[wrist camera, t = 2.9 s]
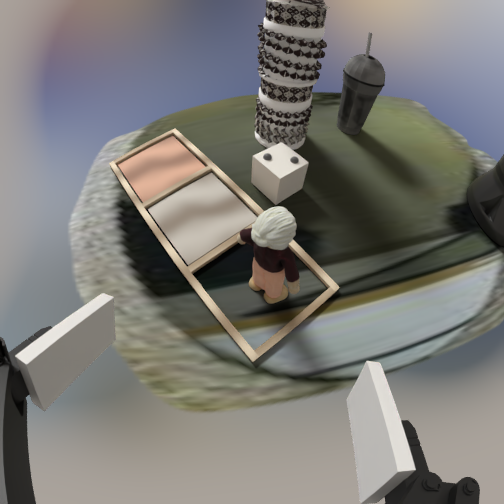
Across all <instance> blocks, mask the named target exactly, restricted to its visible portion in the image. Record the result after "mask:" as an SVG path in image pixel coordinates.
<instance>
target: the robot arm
mask: <svg viewBox="0 0 504 504" xmlns="http://www.w3.org/2000/svg"><path fill="white" fill-rule="evenodd" d="M467 199H468V203H469V206H470V209H471V211H472V213H473V215H474V217H475V219H476V220H477V222H478V223H479V225H480V226H481V228H482V229H483V230H484V231H485V233H486V234H487V235H488V236H489V237H490V238H491V239H492V240H493V241H494V242H496V243H497V244H499V245H500V246H503V247H504V155H503V156H502V158H501V159H500V160H499V162H498V163H497V165H496V166H495V167H494V168H493V169H491V170H489V171H488V172H486V173H484V174H483V175H481V176H480V177H478V178H476V179H475V180H474V181H473V182H472V183H471V184H470V186H469V187H468V189H467ZM115 340H116V336H115V317H114V297H112V296H109V295H107V294H104V293H102V294H101V295H99V296H98V297H96V298H95V299H93V300H92V301H90V302H89V303H87V304H86V305H84V306H83V307H82V308H80V309H79V310H77V311H76V312H75V313H73V314H71V315H70V316H69V317H67V318H66V319H64V320H63V321H62V322H60V323H59V324H57V325H56V326H55V327H51V326H49V327H46V328H43V329H41V330H39V331H38V332H36V333H35V334H34V336H31V337H30V338H28V340H25V341H24V342H22V343H21V344H20V345H18V346H17V347H16V348H14V349H13V350H12V351H10V352H9V353H8V351H7V348H6V344H5V341H4V340H3V338H1V337H0V504H36V502H35V497H34V491H33V486H32V479H31V472H30V464H29V453H28V438H27V400H26V397H27V396H28V395H30V397H31V399H32V402H33V403H34V404H35V405H37V406H38V407H39V408H41V409H42V410H43V411H46V409H47V408H48V407H49V406H50V405H51V404H52V403H53V402H54V401H55V400H56V399H57V398H58V397H59V396H60V395H61V394H62V393H63V392H64V391H65V390H66V389H67V388H68V387H69V386H70V385H71V383H73V381H75V380H76V378H77V377H78V376H79V375H80V374H81V373H82V372H83V371H84V370H85V369H86V368H87V367H88V366H89V365H90V364H91V363H92V362H93V361H94V360H95V359H96V358H97V357H98V356H99V355H100V354H101V353H102V352H103V351H104V350H105V349H106V348H107V347H109V346H110V345H111V344H112V343H113V342H114V341H115ZM346 401H347V406H348V412H349V419H350V424H351V432H352V438H353V446H354V453H355V460H356V468H357V478H358V486H359V497H360V504H369V503H377V502H379V501H380V500H381V499H382V498H384V497H385V502H386V503H385V504H479V494H480V489H479V485H478V483H477V481H476V480H475V479H473V478H471V477H465V478H463V479H461V480H460V481H459V482H458V483H456V484H454V483H446V482H442V480H441V479H440V477H439V476H438V475H436V474H435V473H432V472H429V470H428V466H427V463H426V460H425V457H424V454H423V451H422V448H421V446H420V442H419V439H418V436H417V433H416V430H415V428H414V427H413V426H412V424H411V423H410V422H409V421H408V420H405V421H403V420H401V419H400V417H399V414H398V411H397V408H396V405H395V402H394V399H393V396H392V394H391V391H390V388H389V385H388V383H387V380H386V377H385V375H384V372H383V369H382V367H381V364H380V363H378V362H371V361H366V363H365V365H364V367H363V369H362V371H361V373H360V375H359V377H358V379H357V381H356V383H355V385H354V387H353V388H352V390H351V392H350V394H349V396H348V397H347V399H346Z"/></svg>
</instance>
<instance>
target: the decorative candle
mask: <svg viewBox="0 0 504 504" xmlns="http://www.w3.org/2000/svg"><path fill="white" fill-rule="evenodd" d="M329 8H330V7H328V6H326V5H325V3H324V1H323V0H267V2H266V17H265V18H264V23H261V25H258V27H259V28H260V32H259V33H258V34H257V35H258V36H259V40H260V41H261V43H260V45H259V46H258V49H259V50H260V51H259V53H260V54H258V56H257V57H258V59H259V60H258V62H259V63H260V66H259V67H258V70H259V75H260V77H261V87H260V88H259V96H258V97H259V98H257V99H256V102H257V107H256V110H257V112H256V113H257V114H256V116H255V120H256V123H255V137H256V139H257V141H258V142H259V143H260V144H261V145H263V146H265V147H267V148H270V147H272V146H274V145H276V144H279V143H281V142H282V143H284V144H285V145H286V146H288V147H289V148H290V149H292V150H295V149H298V148H299V147H301V146H302V145H303V144H304V141H305V137H306V135H305V134H304V133H307V129H308V128H307V127H306V126H308V125H309V123H308V122H307V121H309V117H310V116H311V114H310V113H311V109H312V105H311V100H312V93H311V92H312V88H313V85H314V84H316V82H317V79H318V78H319V75H320V74H319V73H318V72H317V71H316V70H319V69H321V64H320V63H319V62H318V61H317V59H318V58H323V57H324V56H325V53H324V52H323V51H322V50H320V49H322V48H325V47H327V44H326V42H325V41H323V39H322V40H321V37H323V35H324V31H325V26H324V22H325V18H326V11H327V9H329ZM263 25H264V27H263ZM263 34H264V35H265V36H264V35H263ZM263 47H264V49H263ZM263 56H264V58H262V57H263Z"/></svg>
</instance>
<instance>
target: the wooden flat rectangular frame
mask: <svg viewBox="0 0 504 504" xmlns="http://www.w3.org/2000/svg"><path fill="white" fill-rule="evenodd" d="M173 135H174V136H175V137H176V138H177V139H178V140H179V141H181V142H182V143H183V144H184V145H185V146H186V147H187V148H188V149H189V150H190V151H191V152H192V153H193V154H194V155H195V156H196V157H198V158H199V159H200V160H201V161H202V162H203V163H204V164H205V165H206V166H207V167H205V166H204V165H203V164H202V163H201V162H200V161H199V160H198V159H197V158H196V157H195V156H194V155H193V154H192V153H191V152H190V151H188V150H187V149H186V148H185V147H184V146H183V145H182V144H181V143H180V142H179V141H178V140H177V139H176V138H175V137H174V136H173ZM145 149H146V150H145ZM143 150H144V151H143ZM141 151H142V152H141ZM132 156H133V157H132ZM123 161H124V162H123ZM109 164H110V166H111V168H112V170H113V171H114V173H115V174H116V176H117V178H118V179H119V181H120V182H121V184H122V186H123V187H124V189H125V190H126V192H127V194H128V195H129V197H130V198H131V200H132V201H133V203H134V204H135V206H136V207H137V209H138V210H139V212H140V214H141V215H142V217H143V218H144V220H145V221H146V222H147V224H148V225H149V227H150V228H151V230H152V231H153V233H154V234H155V236H156V237H157V239H158V240H159V241H160V243H161V244H162V246H163V247H164V249H165V250H166V251H167V253H168V254H169V256H170V257H171V258H172V260H173V261H174V263H175V264H176V265H177V267H178V268H179V270H180V271H181V272H182V274H183V275H184V276H185V278H186V279H187V280H188V282H189V283H190V284H191V286H192V287H193V288H194V290H195V291H196V292H197V294H198V295H199V296H200V298H201V299H202V300H203V302H204V303H205V304H206V306H207V307H208V308H209V309H210V311H211V312H212V313H213V315H214V316H215V317H216V318H217V320H218V321H219V322H220V323H221V325H222V326H223V327H224V328H225V330H226V331H227V332H228V333H229V335H230V336H231V337H232V338H233V339H234V341H235V342H236V343H237V344H238V346H239V347H240V348H241V349H242V350H243V352H244V353H245V354H246V355H247V356H248V357H249V359H250V360H251V361H252V362H254V361H255V360H256V359H258V358H259V357H260V356H261V355H263V354H264V353H265V352H266V351H268V350H269V349H270V348H271V347H273V346H274V345H275V344H276V343H278V342H279V341H280V340H281V339H282V338H284V337H285V336H286V335H287V334H288V333H290V332H291V331H292V330H293V329H294V328H295V327H297V326H298V325H299V324H300V323H301V322H302V321H304V320H305V319H306V318H307V317H308V316H309V315H310V314H312V313H313V312H314V311H315V310H316V309H317V308H318V307H319V306H321V305H322V304H323V303H324V302H325V301H326V300H327V299H328V298H329V297H331V296H332V295H333V294H334V293H335V292H336V291H337V290H338V289H339V288H340V287H339V286H338V285H337V284H336V283H335V282H334V281H333V280H332V279H331V278H330V277H329V276H328V275H327V274H326V273H325V272H324V271H323V270H322V269H321V268H320V267H319V266H318V264H317V263H316V262H315V261H314V260H313V259H312V258H311V257H310V256H309V255H308V254H307V253H306V252H305V251H304V250H303V249H302V248H301V247H300V246H299V245H298V244H297V243H296V242H295V241H294V240H292V241H291V242H290V243H289V245H288V247H289V248H290V249H291V250H292V251H293V252H294V253H295V254H296V255H297V256H298V257H299V258H300V259H301V260H302V261H303V262H304V263H305V264H306V265H307V266H308V268H309V269H310V270H311V271H312V272H313V273H314V274H315V275H316V276H317V277H318V278H319V279H320V280H321V281H322V282H323V283H324V284H325V285H326V286H327V287H328V289H327V290H326V291H325V292H324V293H323V294H322V295H320V296H319V297H318V298H317V299H316V300H315V301H314V302H313V303H311V304H310V305H309V306H308V307H307V308H306V309H304V310H303V311H302V312H301V313H300V314H299V315H297V316H296V317H295V318H294V319H293V320H291V321H290V322H289V323H288V324H287V325H285V326H284V327H283V328H282V329H281V330H279V331H278V332H277V333H276V334H275V335H273V336H272V337H271V338H270V339H268V340H267V341H266V342H265V343H263V344H262V345H261V346H260V347H258V348H257V349H256V350H253V349H252V348H251V347H250V345H249V344H248V343H247V342H246V341H245V340H244V338H243V337H242V336H241V335H240V334H239V332H238V331H237V330H236V329H235V327H234V326H233V325H232V324H231V323H230V321H229V320H228V319H227V318H226V316H225V315H224V314H223V313H222V311H221V310H220V309H219V308H218V306H217V305H216V304H215V303H214V301H213V300H212V299H211V298H210V296H209V295H208V294H207V292H206V291H205V290H204V289H203V287H202V286H201V285H200V283H199V282H198V281H197V280H196V278H195V277H194V276H193V273H194V272H196V271H197V270H199V269H200V268H202V267H203V266H205V265H206V264H208V263H209V262H211V261H212V260H214V259H215V258H216V257H218V256H219V255H221V254H222V253H224V252H225V251H227V250H228V249H230V248H231V247H233V246H234V245H236V244H237V243H238V241H237V236H238V235H239V234H240V231H241V230H243V229H247V228H252V224H255V221H256V220H257V217H256V216H255V215H254V214H253V213H252V212H251V211H250V210H249V209H248V208H247V207H246V206H245V205H244V204H243V203H242V202H241V201H240V200H239V199H238V198H237V197H236V196H235V195H234V194H233V193H232V192H231V191H230V190H229V189H228V188H227V187H226V186H225V185H224V184H223V183H222V182H221V181H220V180H219V179H221V180H222V181H223V182H224V183H225V184H226V185H227V186H228V187H229V188H230V189H231V190H232V191H233V192H234V193H235V194H236V195H237V196H238V197H239V198H240V199H241V200H242V201H243V202H244V203H245V204H246V205H247V206H248V207H249V208H250V209H251V210H252V211H253V212H254V213H255V214H256V215H257V216H259V215H260V214H262V213H263V212H264V211H263V210H262V209H261V208H260V207H259V206H258V205H257V204H256V203H255V202H254V201H253V200H252V199H251V198H250V197H249V196H248V195H247V194H246V193H245V192H244V191H243V190H241V189H240V188H239V187H238V186H237V185H236V184H235V183H234V182H233V181H232V180H231V179H230V178H229V177H228V176H227V175H226V174H224V173H223V172H222V171H221V170H220V169H219V168H218V167H217V166H216V165H215V164H214V163H213V162H212V161H210V160H209V159H208V158H207V157H206V156H205V155H204V154H203V153H202V152H201V151H200V150H198V149H197V148H196V147H195V146H194V145H193V144H192V143H191V142H190V141H188V140H187V139H186V138H185V137H184V136H183V135H182V134H181V133H180V132H178V131H177V130H176V129H173V130H171V131H169V132H167V133H165V134H163V135H161V136H159V137H157V138H155V139H153V140H151V141H149V142H147V143H145V144H143V145H141V146H139V147H137V148H135V149H134V150H132V151H130V152H128V153H126V154H124V155H123V156H121V157H119V158H117V159H116V160H114V161H112V162H111V163H109ZM118 164H119V165H118ZM117 165H118V166H119V168H120V169H121V171H122V172H123V174H124V175H125V177H126V178H127V180H128V182H129V183H130V184H131V186H132V187H133V189H134V190H135V192H136V193H137V195H138V196H139V198H140V199H141V201H142V202H143V203H141V202H140V201H139V199H138V198H137V196H136V195H135V193H134V192H133V190H132V189H131V187H130V186H129V184H128V183H127V181H126V180H125V178H124V177H123V175H122V173H121V172H120V170H119V169H118V167H117ZM210 172H213V173H214V174H215V175H216V176H217V177H218V178H219V179H218V178H217V177H216V176H215V175H214V174H212V173H210ZM208 173H209V174H208ZM206 174H207V175H206ZM204 175H206V176H204ZM202 176H204V177H202ZM201 177H202V178H201ZM199 178H200V179H199ZM197 179H198V180H197ZM195 180H196V181H195ZM193 181H195V182H193ZM192 182H193V183H192ZM190 183H191V184H190ZM188 184H189V185H188ZM186 185H188V186H186ZM184 186H186V187H184ZM183 187H184V188H183ZM181 188H182V189H181ZM179 189H180V190H179ZM177 190H179V191H177ZM176 191H177V192H176ZM174 192H175V193H174ZM172 193H174V194H172ZM171 194H172V195H171ZM169 195H170V196H169ZM167 196H168V197H167ZM165 197H167V198H165ZM164 198H165V199H164ZM162 199H163V200H162ZM160 200H162V201H160ZM159 201H160V202H159ZM157 202H158V203H157ZM155 203H157V204H155ZM154 204H155V205H154ZM152 205H153V206H152ZM151 206H152V207H151ZM149 207H150V208H149ZM147 208H149V209H148V211H149V212H150V214H151V215H152V217H153V218H154V219H155V221H156V222H157V224H158V225H159V226H160V228H161V229H162V231H163V232H164V233H165V235H166V236H167V238H168V239H169V240H170V242H171V243H172V244H173V246H174V247H175V248H176V250H177V251H178V252H179V254H180V255H181V257H182V258H183V259H184V261H185V262H186V263H187V265H188V267H187V266H186V265H185V264H184V262H183V261H182V260H181V258H180V257H179V256H178V254H177V253H176V252H175V250H174V249H173V247H172V246H171V245H170V243H169V242H168V241H167V239H166V238H165V236H164V235H163V234H162V232H161V231H160V229H159V228H158V227H157V225H156V224H155V222H154V221H153V219H152V218H151V217H150V215H149V214H148V212H147V211H146V209H147Z"/></svg>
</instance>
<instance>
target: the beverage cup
mask: <svg viewBox="0 0 504 504" xmlns="http://www.w3.org/2000/svg"><path fill="white" fill-rule="evenodd" d="M371 38H372V33H369V36H368V42H367V49H366V54H365V55H364V54H361V55H356V56H354V57H352V58H351V59H350V60H349V61H348V63H347V64H346V66H345V68H344V70H343V72H344V74H343V89H342V95H341V101H340V107H339V113H338V121H337V127H338V128H339V129H340V130H341V131H343V132H344V133H347V134H351V135H356V134H358V133H359V132H360V130H361V128H362V127H363V125H364V122H365V120H366V118H367V116H368V114H369V112H370V110H371V108H372V106H373V104H374V101H375V99H376V97H377V95H378V94H379V93H380V91H381V89H382V87H383V86H384V82H385V71H384V69H383V66H382V65H381V63H380V62H379V61H378V60H377V59H375V58H374V57H372V56H370V55H369V51H370V44H371Z"/></svg>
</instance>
